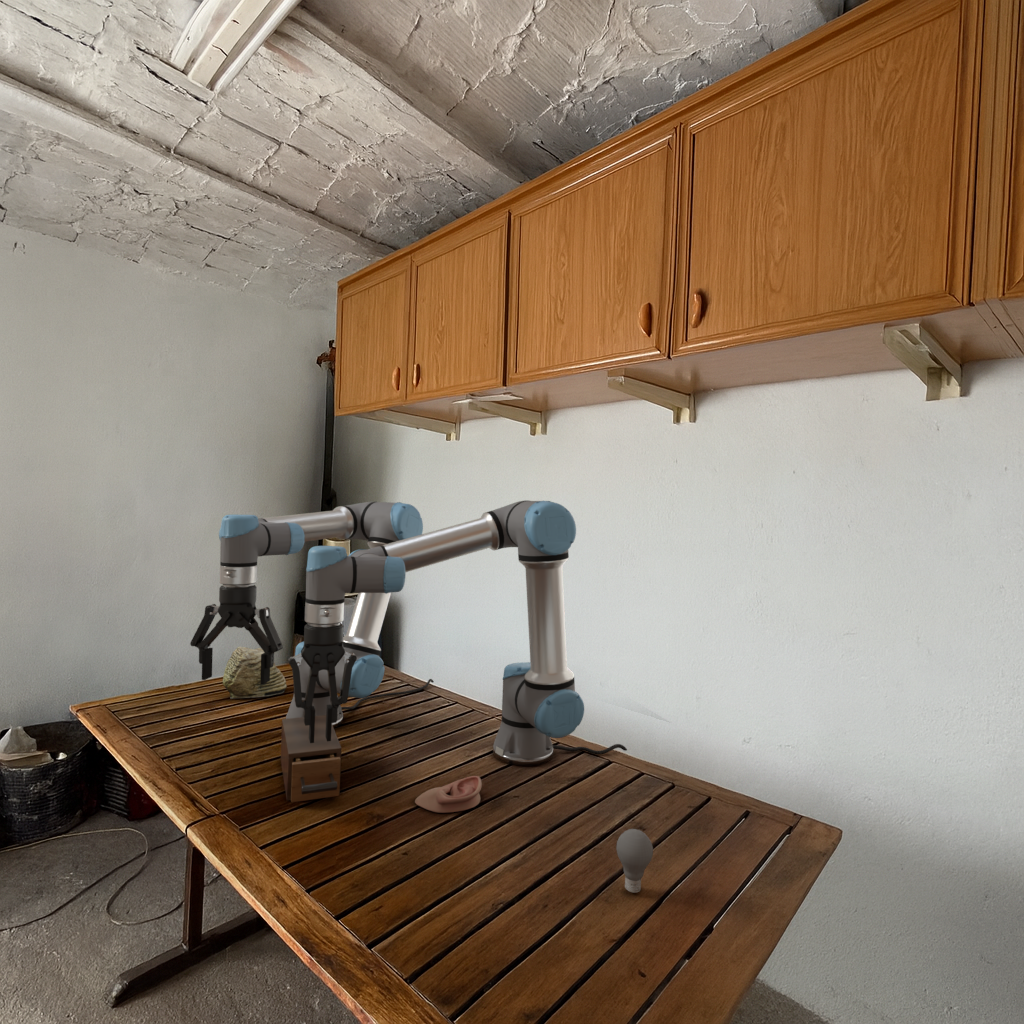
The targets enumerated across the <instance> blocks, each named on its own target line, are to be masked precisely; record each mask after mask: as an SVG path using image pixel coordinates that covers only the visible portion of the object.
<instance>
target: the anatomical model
mask: <svg viewBox="0 0 1024 1024" xmlns="http://www.w3.org/2000/svg"><path fill="white" fill-rule="evenodd" d="M482 786H483V783H482V779H481V777H480V776H479V775H471V776H467V777H464V778H461V779H458V780H455V781H452V782H450V783H447V784H445V785H442V786H438V787H433V788H430V789H427V790H425V791H424V792H423V793H421V794H419V795H418V796H417V797H416V798H415V800H414V804H416V805H417V806H418V807H420V808H423V809H425V810H427V811H429V812H433V813H440V814H441V813H443V814H445V813H454V812H463V811H466V810H470V809H472V808H473V809H474V808H475V807H476V806H478V805H480V803H481V793H480V791H481V790H482Z"/></svg>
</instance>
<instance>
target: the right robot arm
mask: <svg viewBox="0 0 1024 1024" xmlns="http://www.w3.org/2000/svg"><path fill="white" fill-rule="evenodd" d="M576 536H577V525H576V521H575V518H574V516H573V515H572V513H571V512H570V511H569V510H568V509H567V508H566V507H565V506H564V505H562V504H560V503H557V502H554V501H551V500H526V499H525V500H519V501H516V502H512V503H510V504H507V505H504V506H501V507H498V508H495V509H493V510H489V511H485V512H483V513H482V514H481V517H479V518H476V519H472V520H469V521H465V522H462V523H458V524H454V525H450V526H447V527H444V528H443V527H442V528H440V529H436V530H433V531H429V532H426V533H422V534H421V535H418V536H414V537H411V538H407V539H403V540H400V541H396V542H392V543H389V544H385V545H382V546H379V547H375V548H371V549H370V548H368V549H364V548H360V549H356V550H354V551H352V552H351V553H349V555H348V554H347V549H346V547H344V546H341V545H340V546H339V545H315V546H312V547H310V549H309V550H308V552H307V562H306V569H305V571H306V572H305V573H306V574H305V575H306V576H305V604H304V605H305V606H304V622H305V623H306V624H305V625H304V628H303V631H304V632H303V642H304V646H303V648H302V650H301V653H300V654H298V655H296V656H295V655H291V656H289V657H288V659H287V660H288V663H289V666H290V668H291V671H292V681H293V682H292V683H293V696H294V697H295V704H296V707H298V708H303V709H304V723H305V726H307V725H309V741H310V743H314V731H315V708H314V706H312V702H313V696H314V691H315V685H316V679H317V675H318V671H320V670H327V672H328V682H329V692H330V702H331V705H327V709H326V735H325V737H326V740H327V741H331V727H332V723H336V722H337V712H338V707H339V705H340V706H341V705H346V704H347V703H348V699H349V697H348V693H349V687H350V680H351V674H352V667H353V665H354V663H355V662H356V660H357V657H356V656H355V654H354V653H349V652H347V651H345V649H344V647H343V637H344V624H343V622H344V621H345V597H346V594H358V593H385V594H387V593H391V594H392V593H400V592H401V591H403V589H404V587H405V583H406V575H407V574H406V573H408V572H409V573H410V572H412V571H415V570H419V569H422V568H425V567H430V566H432V565H436V564H439V563H443V562H447V561H449V560H454V559H456V558H460V557H463V556H466V555H470V554H473V553H477V552H480V551H483V550H487V549H490V550H492V551H498V550H501V549H507V548H517V555H518V556H517V557H518V558H517V559H518V562H519V563H520V564H521V565H522V566H523V567H524V568H525V585H526V586H525V587H526V606H527V623H528V625H527V627H528V641H529V642H528V643H529V644H528V645H529V661H527V662H525V661H523V662H513V663H509V664H507V665H506V666H505V667H504V669H503V676H502V696H501V697H502V699H501V722H500V725H499V728H498V731H497V732H496V736H495V739H494V742H493V745H492V747H493V748H492V754H493V756H494V757H495V758H496V759H497V760H499V761H501V762H503V763H506V764H509V765H513V766H520V767H522V766H523V767H531V766H532V767H533V766H539V765H544V764H546V763H548V762H549V761H551V760H552V759H553V757H554V750H560V751H565V752H579V751H580V752H581V751H583V752H587V753H589V754H593V755H604V754H608V753H610V752H612V751H613V750H616V749H621V750H623V751H628V749H627V747H626V746H625V745H623V744H621V743H615V744H612V745H611V746H609V747H607V748H605V749H602V750H595V749H591V748H590V747H585V746H575V747H568V746H563V745H557V744H553V742H552V739H562V738H565V737H567V736H569V735H571V734H572V733H574V732H575V731H576V729H577V727H578V726H580V724H581V723H582V721H583V719H584V714H585V702H584V701H583V698H582V697H581V695H580V694H579V693H578V692H577V691H576V687H575V686H576V685H575V673H574V672H573V671H572V670H571V669H570V668H569V667H568V657H567V656H568V653H567V633H566V632H567V631H566V614H565V611H566V610H565V591H564V572H563V571H564V569H563V568H564V567H563V566H564V565H565V564H566V562H568V560H569V559H570V557H569V556H570V555H569V550H570V548H571V547H572V544H573V543H574V542H575V540H576ZM343 656H344V662H345V665H344V672H343V678H342V685H341V691H340V694H339V695H338V693H337V687H336V677H335V666H336V665H337V664H338V662H339V661H340V660H341V658H342V657H343ZM302 659H304V660H305V661H306V663H307V664H308V665H309V667H310V671H309V678H308V684H307V690H306V696H305V700H302V694H301V682H300V671H299V666H300V665H301V660H302ZM337 695H338V697H337Z"/></svg>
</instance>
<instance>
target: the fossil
mask: <svg viewBox="0 0 1024 1024" xmlns="http://www.w3.org/2000/svg"><path fill="white" fill-rule="evenodd" d="M263 653H265V652H264V651H263V650H262V648H261V647H258V648H251V647H247V646H246V647H245V646H238V647H237V648H236V649H235V650H233V651H232V653H231V656H230V657H229V659H228V660H227V663H226V666H225V668H224V671H223V675H222V676H223V677H222V685H223V687H224V688H225V690H226V691H228V693H229V698H230V699H250V698H264V697H271V696H275V695H281V694H284V693H285V691H286V689H287V687H288V686H287V680H286V678H285V676H284V674H283V673H282V672H281V669H279V668H278V667H277V665H276V663H275V662H274V665H273V667H272V668H270V681H269V682H267V683H265V684H260V679H261V654H263Z"/></svg>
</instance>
